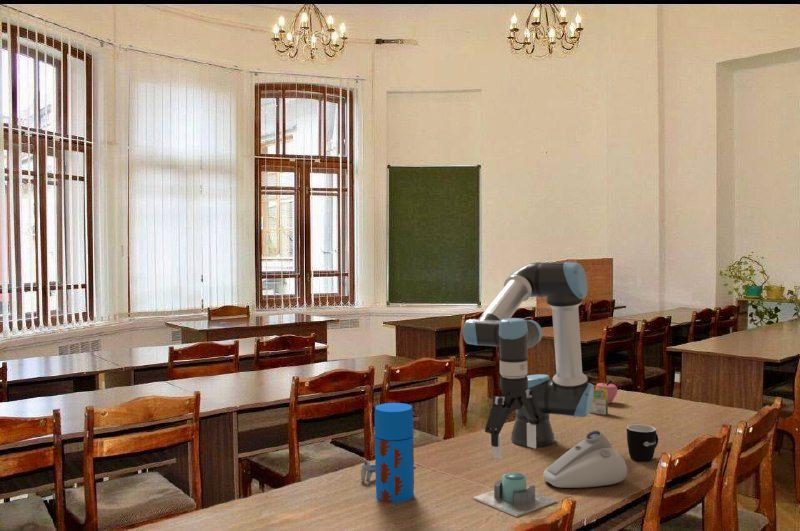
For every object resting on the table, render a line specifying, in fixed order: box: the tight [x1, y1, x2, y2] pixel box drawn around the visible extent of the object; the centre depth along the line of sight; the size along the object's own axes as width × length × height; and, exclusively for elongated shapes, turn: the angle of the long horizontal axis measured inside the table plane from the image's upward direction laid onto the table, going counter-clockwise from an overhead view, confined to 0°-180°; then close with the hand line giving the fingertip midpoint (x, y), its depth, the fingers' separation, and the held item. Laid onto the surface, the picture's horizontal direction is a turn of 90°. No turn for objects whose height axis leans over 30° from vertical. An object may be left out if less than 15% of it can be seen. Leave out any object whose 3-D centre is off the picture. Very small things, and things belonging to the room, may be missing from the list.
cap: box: [501, 471, 527, 503], centre depth 186 cm, size 6×6×6 cm
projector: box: [542, 429, 628, 489], centre depth 201 cm, size 22×23×15 cm
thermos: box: [374, 402, 415, 503], centre depth 191 cm, size 11×11×25 cm
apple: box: [595, 380, 618, 405], centre depth 295 cm, size 10×9×10 cm
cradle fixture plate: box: [472, 479, 558, 518], centre depth 186 cm, size 16×16×4 cm
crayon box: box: [589, 384, 609, 415], centre depth 279 cm, size 7×3×12 cm, turn 58°
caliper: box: [360, 460, 417, 483], centre depth 209 cm, size 20×1×6 cm, turn 128°
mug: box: [626, 423, 659, 463], centre depth 220 cm, size 12×9×10 cm
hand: (514, 452), depth 186 cm, fingers open, 13 cm apart
